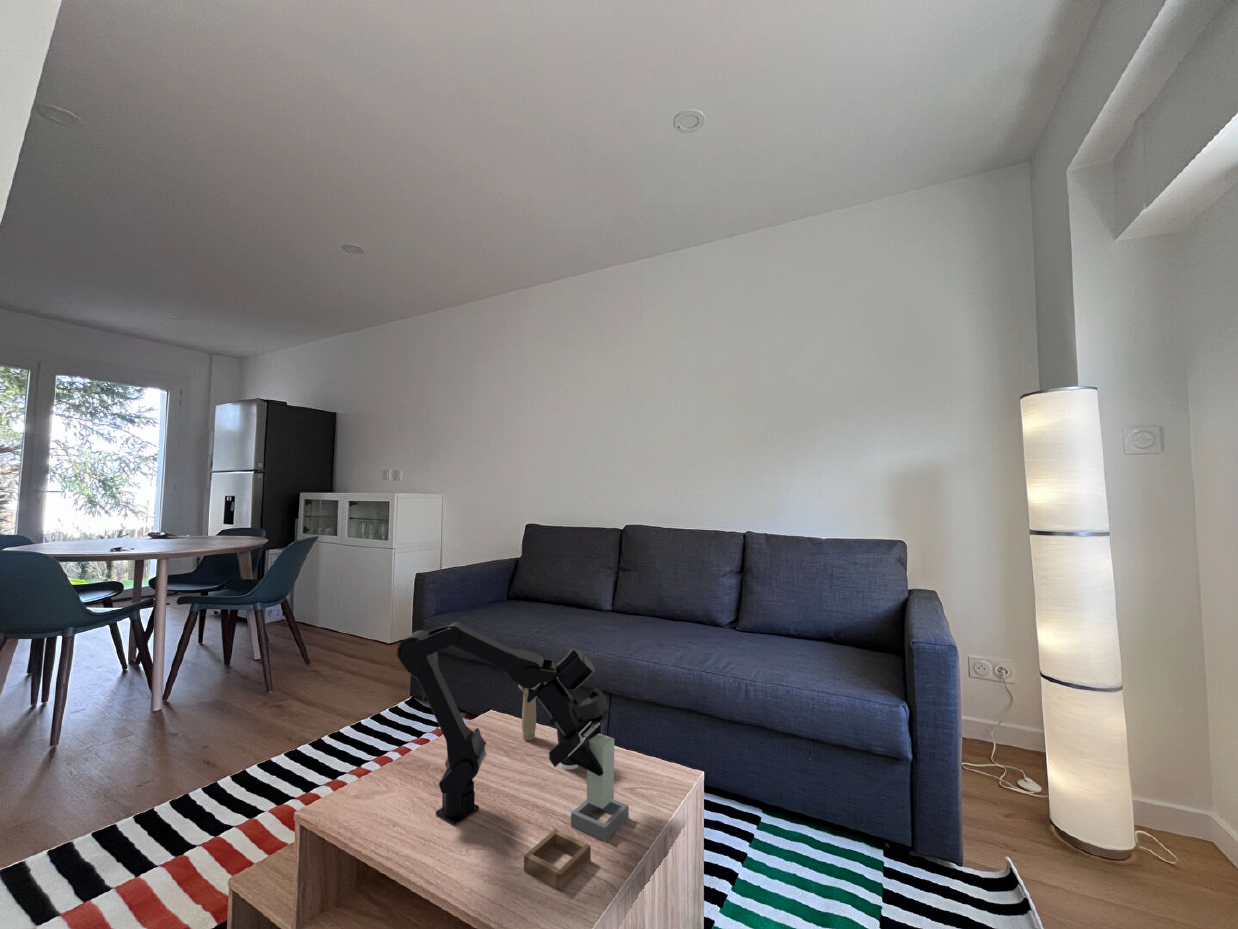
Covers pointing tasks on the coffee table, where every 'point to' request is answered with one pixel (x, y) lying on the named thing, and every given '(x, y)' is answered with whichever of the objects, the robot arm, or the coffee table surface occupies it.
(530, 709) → the handle
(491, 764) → the coffee table surface
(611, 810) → the socket
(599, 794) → the peg
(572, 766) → the dixie cup
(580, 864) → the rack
